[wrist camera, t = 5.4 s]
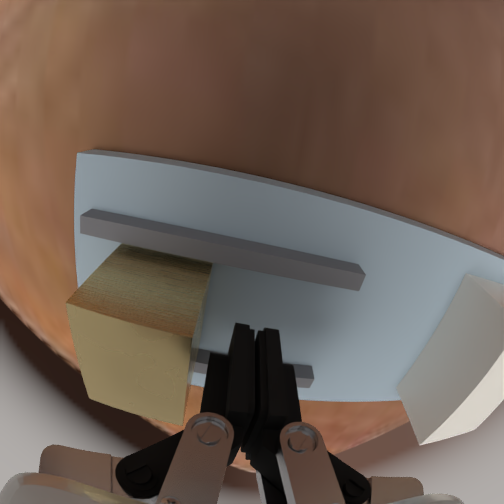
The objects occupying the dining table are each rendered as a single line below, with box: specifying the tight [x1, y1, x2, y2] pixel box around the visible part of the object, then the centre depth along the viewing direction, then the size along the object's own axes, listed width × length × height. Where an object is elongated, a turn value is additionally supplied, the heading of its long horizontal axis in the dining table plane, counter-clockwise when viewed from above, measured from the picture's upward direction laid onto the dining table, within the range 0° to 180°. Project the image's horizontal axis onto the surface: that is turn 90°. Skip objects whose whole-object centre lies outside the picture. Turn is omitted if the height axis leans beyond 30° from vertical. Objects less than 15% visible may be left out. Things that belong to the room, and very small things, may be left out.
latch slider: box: [66, 243, 213, 426], centre depth 10 cm, size 5×4×5 cm
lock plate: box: [74, 149, 504, 402], centre depth 14 cm, size 12×26×2 cm, turn 77°
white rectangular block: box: [396, 273, 504, 445], centre depth 12 cm, size 9×6×5 cm, turn 167°
